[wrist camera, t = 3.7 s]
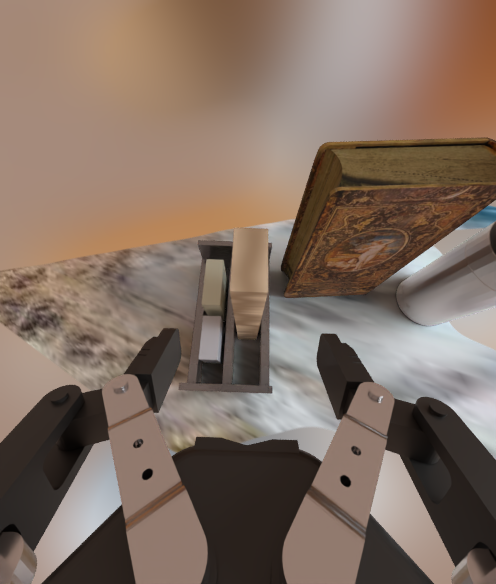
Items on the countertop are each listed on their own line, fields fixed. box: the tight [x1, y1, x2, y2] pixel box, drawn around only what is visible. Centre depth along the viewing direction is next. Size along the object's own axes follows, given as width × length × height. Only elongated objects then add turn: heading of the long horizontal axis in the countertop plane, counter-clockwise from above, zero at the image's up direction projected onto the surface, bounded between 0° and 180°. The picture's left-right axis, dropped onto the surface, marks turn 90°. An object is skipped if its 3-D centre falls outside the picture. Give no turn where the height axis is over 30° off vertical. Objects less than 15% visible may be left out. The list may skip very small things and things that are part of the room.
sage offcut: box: [201, 259, 228, 321], centre depth 37 cm, size 2×7×9 cm, turn 178°
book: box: [281, 138, 496, 298], centre depth 31 cm, size 16×6×25 cm, turn 93°
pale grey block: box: [199, 316, 225, 364], centre depth 35 cm, size 2×6×7 cm, turn 178°
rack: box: [179, 240, 272, 393], centre depth 36 cm, size 12×22×8 cm, turn 178°
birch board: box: [230, 228, 268, 340], centre depth 30 cm, size 3×6×22 cm, turn 178°
